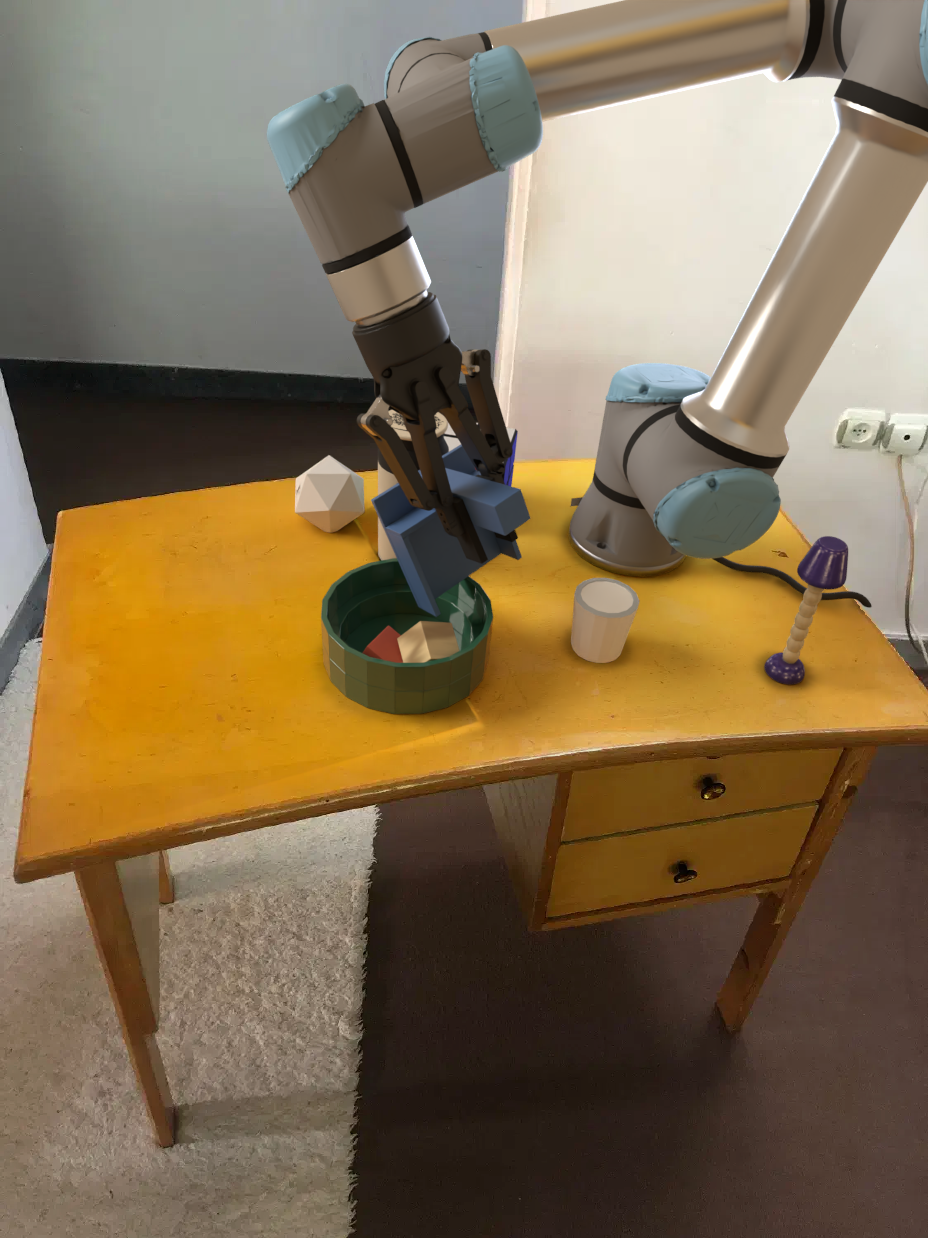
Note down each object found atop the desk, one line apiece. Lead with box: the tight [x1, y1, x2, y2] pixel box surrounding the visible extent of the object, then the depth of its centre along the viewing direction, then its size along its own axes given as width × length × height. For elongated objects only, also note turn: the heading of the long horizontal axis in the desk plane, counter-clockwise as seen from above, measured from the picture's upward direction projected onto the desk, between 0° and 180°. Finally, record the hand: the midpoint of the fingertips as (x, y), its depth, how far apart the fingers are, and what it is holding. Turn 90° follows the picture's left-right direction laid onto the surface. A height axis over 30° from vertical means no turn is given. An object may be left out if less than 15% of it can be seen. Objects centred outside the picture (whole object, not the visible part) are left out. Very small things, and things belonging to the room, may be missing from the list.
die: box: [294, 454, 366, 534], centre depth 108 cm, size 8×9×10 cm
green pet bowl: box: [320, 558, 494, 715], centre depth 89 cm, size 17×17×7 cm
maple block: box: [397, 621, 459, 663], centre depth 84 cm, size 4×4×4 cm
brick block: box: [363, 626, 403, 663], centre depth 86 cm, size 4×4×4 cm
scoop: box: [370, 445, 531, 617], centre depth 82 cm, size 13×12×15 cm
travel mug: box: [377, 409, 449, 561], centre depth 100 cm, size 8×8×18 cm
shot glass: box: [570, 577, 640, 664], centre depth 92 cm, size 7×7×7 cm
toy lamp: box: [763, 535, 849, 686], centre depth 88 cm, size 5×5×17 cm
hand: (492, 547), depth 81 cm, fingers closed on scoop, 3 cm apart
